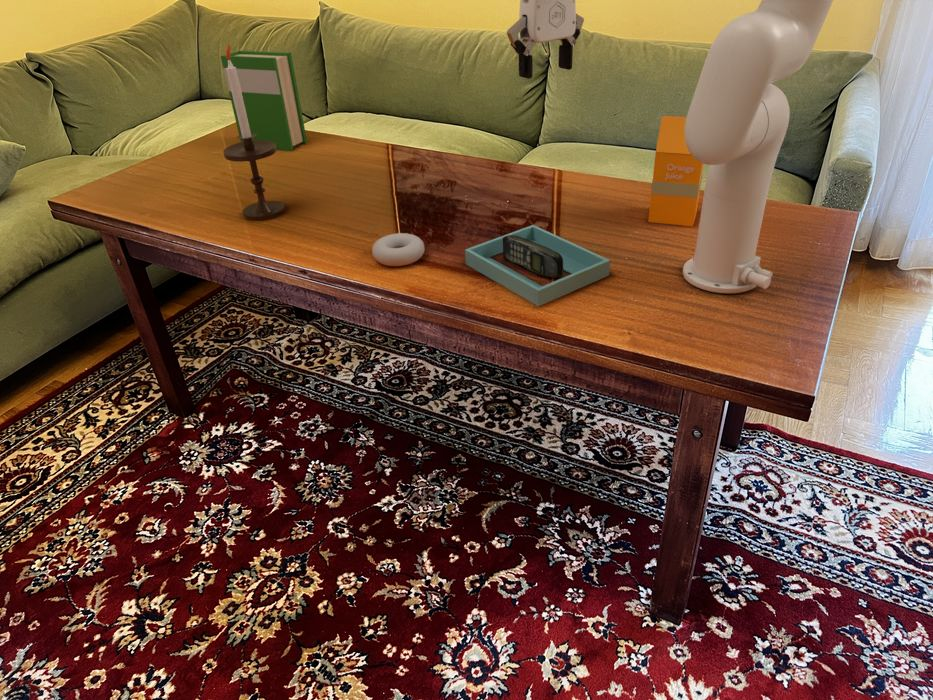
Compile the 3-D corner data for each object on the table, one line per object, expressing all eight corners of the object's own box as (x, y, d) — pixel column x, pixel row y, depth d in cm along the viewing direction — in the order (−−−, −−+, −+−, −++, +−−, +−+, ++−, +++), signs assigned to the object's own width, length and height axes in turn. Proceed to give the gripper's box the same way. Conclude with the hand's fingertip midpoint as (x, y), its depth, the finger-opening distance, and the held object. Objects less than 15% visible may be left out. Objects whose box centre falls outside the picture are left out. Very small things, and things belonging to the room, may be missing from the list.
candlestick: (298, 206, 153) (265, 38, 134) (268, 224, 145) (227, 49, 126) (260, 200, 157) (222, 37, 138) (229, 218, 149) (183, 47, 130)
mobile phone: (499, 236, 123) (562, 259, 114) (511, 231, 125) (573, 253, 115) (500, 260, 126) (561, 285, 116) (511, 255, 128) (573, 279, 118)
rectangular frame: (609, 275, 119) (610, 260, 117) (538, 306, 111) (538, 290, 110) (533, 238, 133) (533, 224, 131) (465, 264, 125) (464, 249, 124)
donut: (369, 251, 132) (378, 273, 124) (366, 235, 130) (375, 256, 122) (419, 243, 134) (431, 263, 126) (417, 227, 132) (429, 246, 124)
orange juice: (653, 207, 142) (664, 110, 131) (697, 211, 140) (712, 112, 128) (647, 222, 137) (658, 121, 125) (693, 226, 134) (708, 124, 122)
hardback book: (307, 142, 193) (290, 52, 180) (291, 150, 188) (273, 58, 174) (258, 137, 200) (238, 50, 186) (241, 145, 194) (220, 56, 181)
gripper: (521, -25, 111) (522, 84, 121) (598, -36, 119) (593, 68, 128) (494, -27, 116) (497, 77, 126) (569, -37, 124) (566, 62, 134)
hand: (545, 72), depth 127 cm, fingers open, 9 cm apart
